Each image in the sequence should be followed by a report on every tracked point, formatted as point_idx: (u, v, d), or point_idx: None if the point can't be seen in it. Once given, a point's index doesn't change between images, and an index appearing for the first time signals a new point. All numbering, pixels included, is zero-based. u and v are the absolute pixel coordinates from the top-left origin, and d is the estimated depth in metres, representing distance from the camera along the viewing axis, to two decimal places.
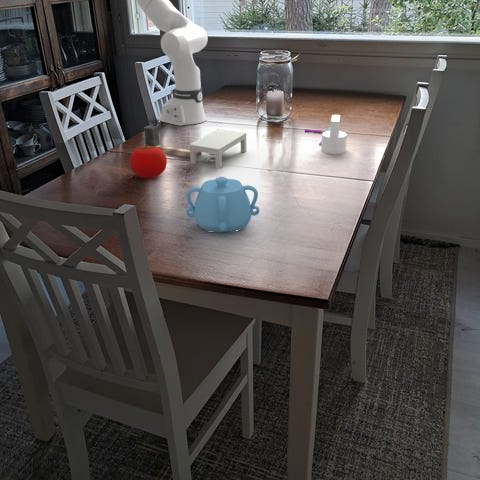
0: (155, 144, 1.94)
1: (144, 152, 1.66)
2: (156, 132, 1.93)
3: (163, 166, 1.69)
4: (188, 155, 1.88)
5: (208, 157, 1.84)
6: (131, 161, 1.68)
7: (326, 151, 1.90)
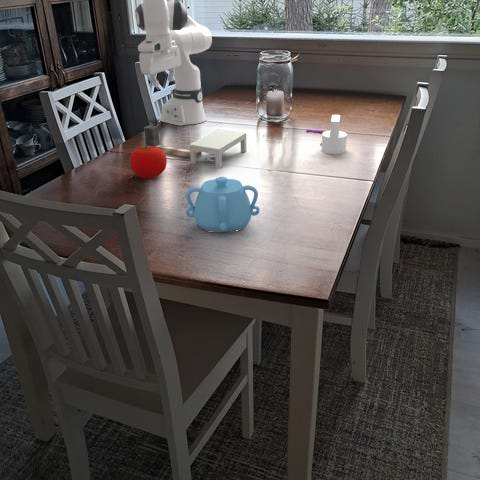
0: (155, 144, 1.94)
1: (144, 152, 1.66)
2: (156, 132, 1.93)
3: (163, 166, 1.69)
4: (188, 155, 1.88)
5: (208, 157, 1.84)
6: (131, 161, 1.68)
7: (326, 151, 1.90)
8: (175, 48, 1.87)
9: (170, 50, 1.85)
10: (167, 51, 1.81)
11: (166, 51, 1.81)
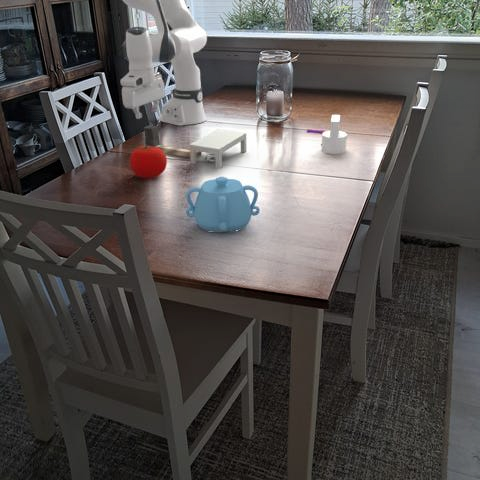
0: (155, 144, 1.94)
1: (144, 152, 1.66)
2: (156, 132, 1.93)
3: (163, 166, 1.69)
4: (188, 155, 1.88)
5: (208, 157, 1.84)
6: (131, 161, 1.68)
7: (326, 151, 1.90)
8: (159, 80, 1.89)
9: (153, 83, 1.87)
10: (150, 84, 1.83)
11: (149, 84, 1.83)
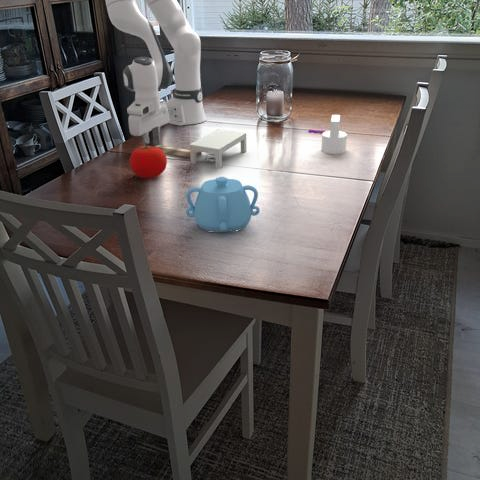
0: (155, 144, 1.94)
1: (144, 152, 1.66)
2: (156, 132, 1.93)
3: (163, 166, 1.69)
4: (188, 155, 1.88)
5: (208, 157, 1.84)
6: (131, 161, 1.68)
7: (326, 151, 1.90)
8: (163, 107, 1.94)
9: (158, 110, 1.92)
10: (155, 112, 1.88)
11: (154, 112, 1.88)
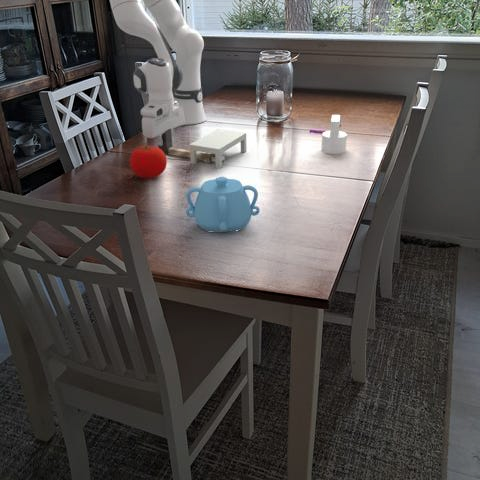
0: (168, 146, 1.91)
1: (144, 152, 1.66)
2: (169, 134, 1.90)
3: (163, 166, 1.69)
4: (202, 157, 1.85)
5: (212, 157, 1.83)
6: (131, 161, 1.68)
7: (326, 151, 1.90)
8: (177, 109, 1.91)
9: (172, 112, 1.89)
10: (169, 114, 1.85)
11: (168, 114, 1.85)
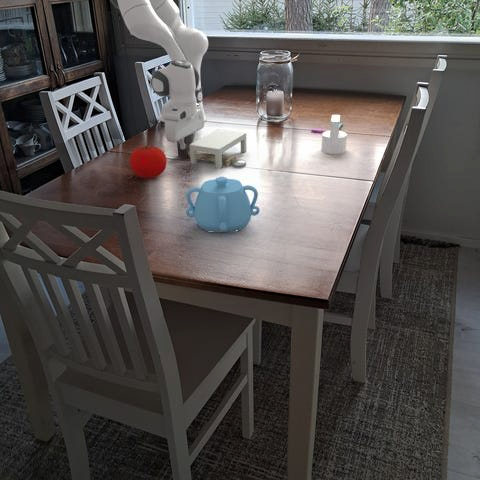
0: (188, 149, 1.88)
1: (144, 152, 1.66)
2: (189, 137, 1.87)
3: (163, 166, 1.69)
4: (223, 161, 1.82)
5: (233, 161, 1.80)
6: (131, 161, 1.68)
7: (326, 151, 1.90)
8: (199, 112, 1.87)
9: (194, 114, 1.85)
10: (192, 117, 1.81)
11: (191, 117, 1.81)
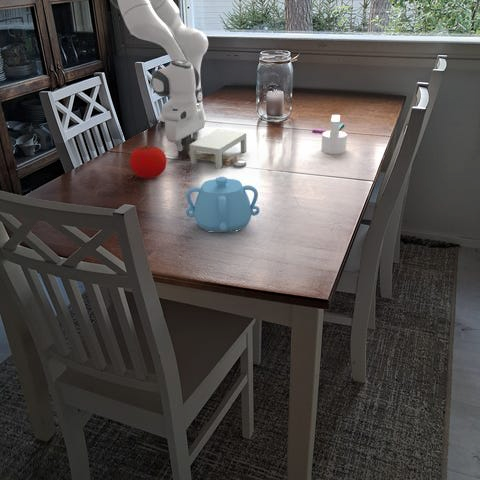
0: (188, 149, 1.88)
1: (144, 152, 1.66)
2: (189, 137, 1.87)
3: (163, 166, 1.69)
4: (223, 161, 1.82)
5: (234, 161, 1.80)
6: (131, 161, 1.68)
7: (326, 151, 1.90)
8: (199, 112, 1.87)
9: (195, 114, 1.85)
10: (192, 117, 1.81)
11: (191, 117, 1.81)
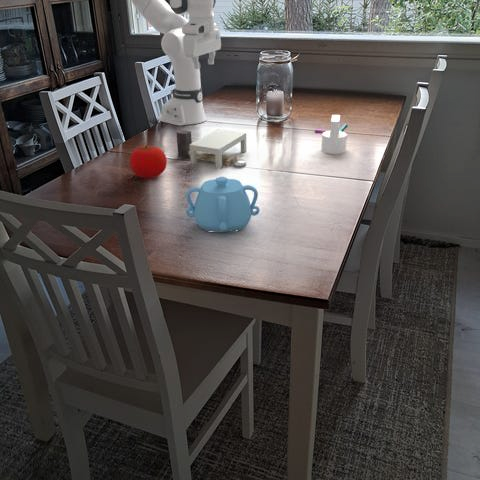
0: (188, 149, 1.88)
1: (144, 152, 1.66)
2: (189, 137, 1.87)
3: (163, 166, 1.69)
4: (223, 161, 1.82)
5: (234, 161, 1.80)
6: (131, 161, 1.68)
7: (326, 151, 1.90)
8: (216, 31, 1.87)
9: (212, 33, 1.85)
10: (210, 34, 1.82)
11: (209, 34, 1.81)
